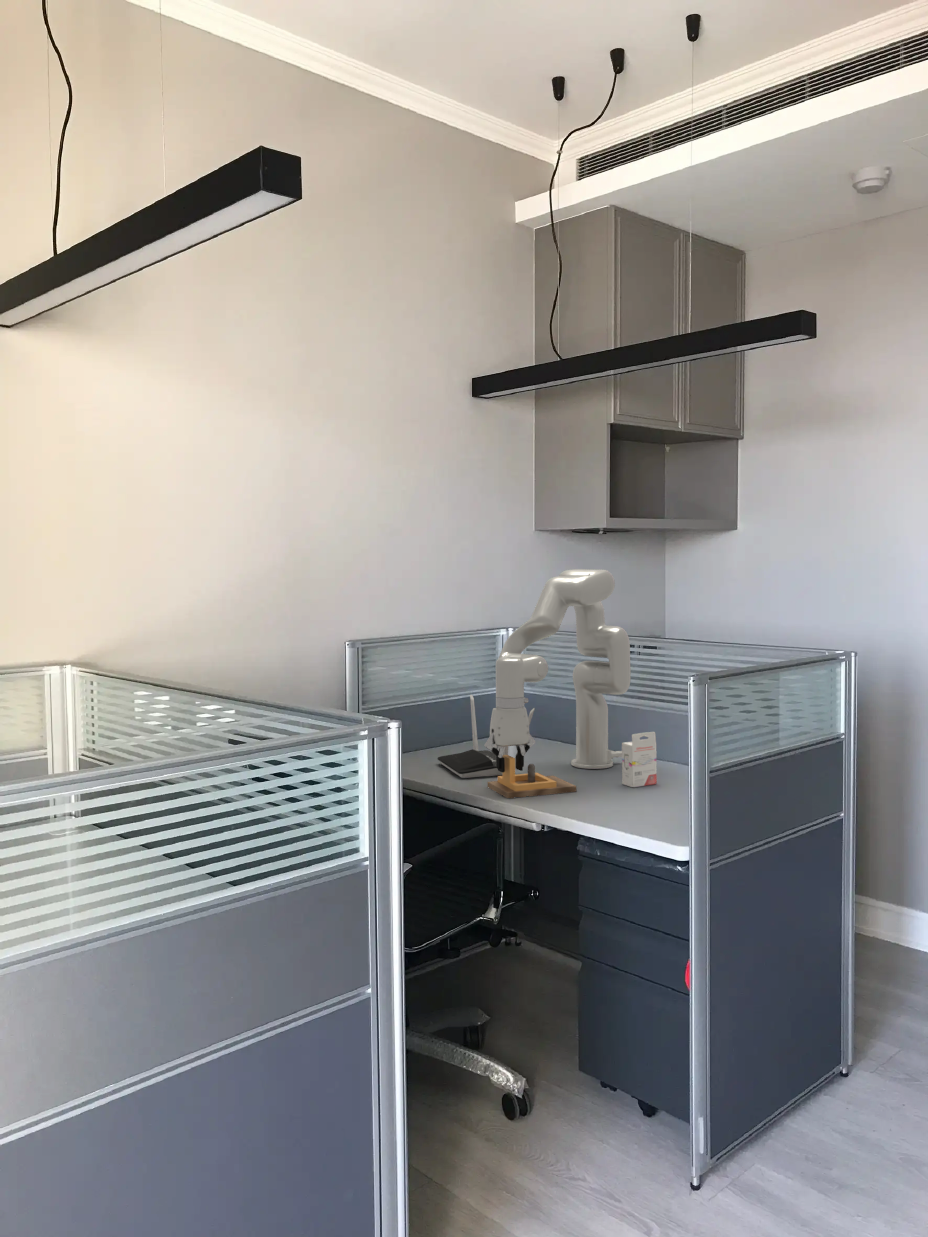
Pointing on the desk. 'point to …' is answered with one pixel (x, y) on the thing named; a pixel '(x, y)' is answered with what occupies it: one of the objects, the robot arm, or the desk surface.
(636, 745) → the ink cartridge box
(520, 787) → the link
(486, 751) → the wireless router
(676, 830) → the desk surface
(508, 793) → the wooden peg board
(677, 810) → the desk surface
